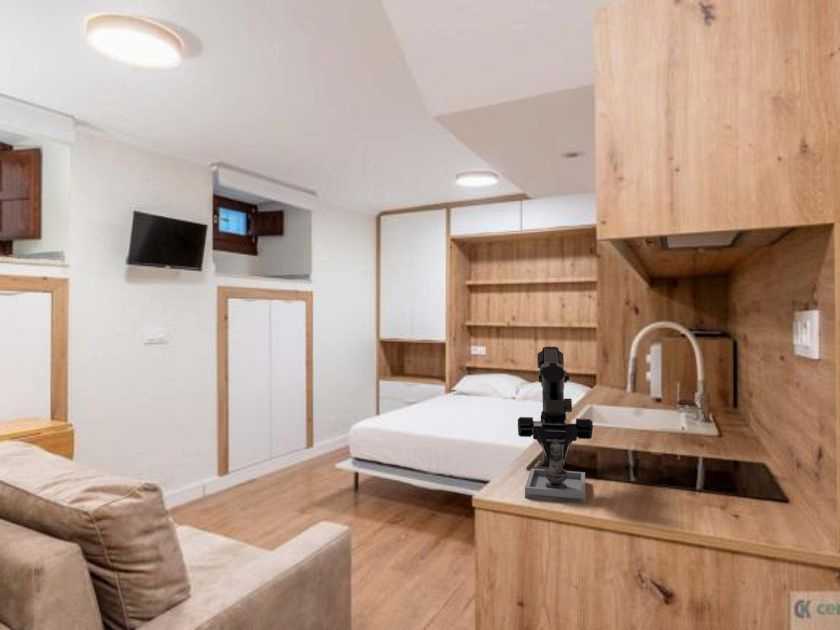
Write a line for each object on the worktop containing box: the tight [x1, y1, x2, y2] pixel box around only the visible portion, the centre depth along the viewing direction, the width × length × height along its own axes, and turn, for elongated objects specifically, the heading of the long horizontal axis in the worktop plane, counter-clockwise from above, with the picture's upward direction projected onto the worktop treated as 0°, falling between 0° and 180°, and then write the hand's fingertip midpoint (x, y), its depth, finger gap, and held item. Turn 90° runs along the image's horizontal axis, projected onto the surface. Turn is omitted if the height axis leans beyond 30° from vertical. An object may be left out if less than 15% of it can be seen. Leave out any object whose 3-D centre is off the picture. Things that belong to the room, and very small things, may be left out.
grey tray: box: [524, 468, 586, 504], centre depth 129 cm, size 16×14×2 cm
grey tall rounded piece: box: [544, 439, 568, 489], centre depth 128 cm, size 6×6×12 cm
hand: (555, 457), depth 127 cm, fingers open, 4 cm apart
